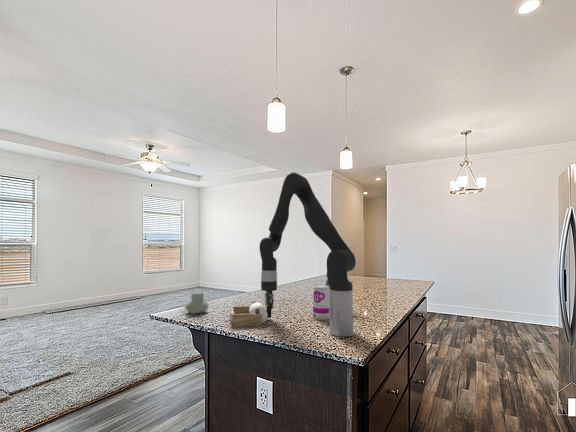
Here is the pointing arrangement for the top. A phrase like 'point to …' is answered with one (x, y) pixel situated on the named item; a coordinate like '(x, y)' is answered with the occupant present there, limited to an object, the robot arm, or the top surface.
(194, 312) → the air freshener
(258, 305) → the roll
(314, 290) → the supplement can
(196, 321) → the top surface
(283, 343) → the top surface
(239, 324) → the holder
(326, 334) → the top surface
